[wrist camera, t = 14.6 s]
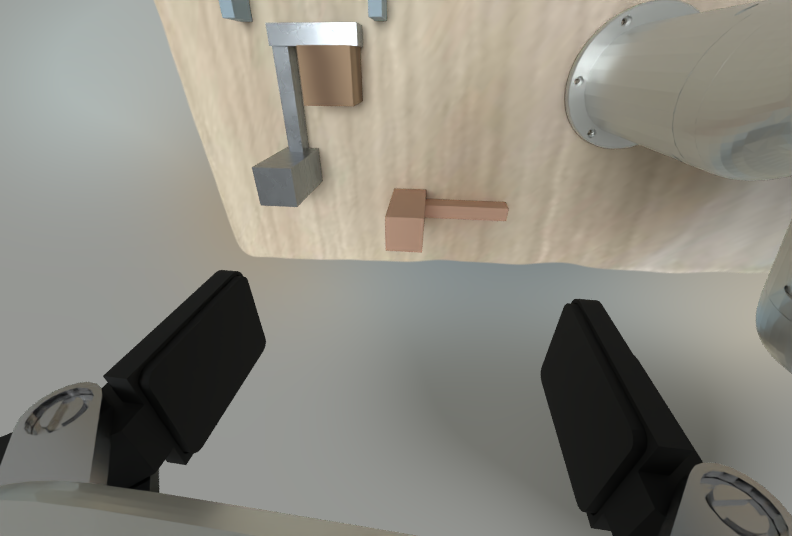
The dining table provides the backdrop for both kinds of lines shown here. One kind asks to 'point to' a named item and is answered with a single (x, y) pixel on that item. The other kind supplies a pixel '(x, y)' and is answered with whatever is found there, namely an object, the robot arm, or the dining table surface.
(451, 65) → the dining table surface
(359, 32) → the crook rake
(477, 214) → the salmon l-shaped piece
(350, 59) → the walnut block
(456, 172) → the dining table surface
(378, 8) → the cubby
